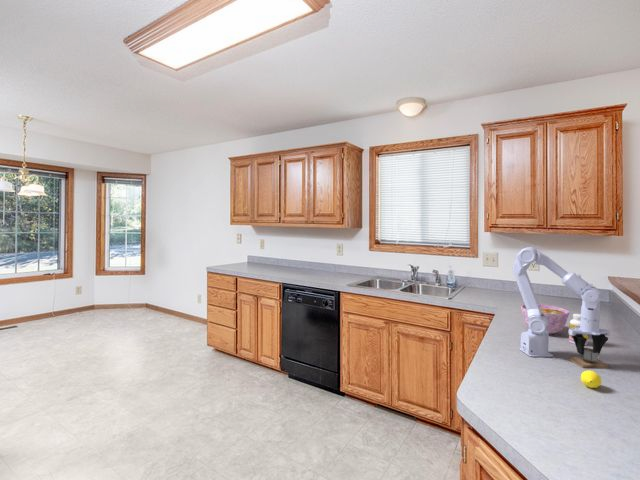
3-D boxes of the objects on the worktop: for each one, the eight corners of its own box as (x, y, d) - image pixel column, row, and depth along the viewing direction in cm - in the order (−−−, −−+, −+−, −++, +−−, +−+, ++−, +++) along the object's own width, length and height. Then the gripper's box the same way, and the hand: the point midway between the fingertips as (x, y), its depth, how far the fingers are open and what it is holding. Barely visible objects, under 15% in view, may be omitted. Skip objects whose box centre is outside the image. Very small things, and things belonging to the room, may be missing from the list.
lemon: (580, 382, 116) (581, 366, 116) (601, 387, 113) (602, 371, 113) (579, 387, 111) (580, 370, 111) (600, 392, 107) (601, 375, 108)
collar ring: (586, 360, 128) (587, 352, 127) (575, 354, 133) (576, 347, 133) (601, 360, 127) (602, 353, 127) (590, 355, 133) (590, 347, 133)
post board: (582, 367, 127) (583, 354, 126) (567, 359, 135) (567, 346, 134) (609, 368, 127) (610, 354, 126) (592, 359, 135) (593, 346, 134)
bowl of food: (553, 326, 177) (554, 304, 177) (578, 339, 157) (579, 314, 157) (512, 325, 179) (513, 303, 179) (532, 337, 159) (533, 313, 159)
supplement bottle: (569, 339, 157) (570, 312, 157) (587, 342, 153) (588, 314, 152) (568, 343, 152) (569, 315, 151) (587, 347, 148) (588, 318, 147)
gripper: (579, 321, 126) (577, 357, 126) (618, 321, 126) (616, 357, 126) (565, 316, 133) (563, 350, 133) (602, 316, 133) (600, 350, 133)
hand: (588, 353), depth 130 cm, fingers closed on collar ring, 5 cm apart
